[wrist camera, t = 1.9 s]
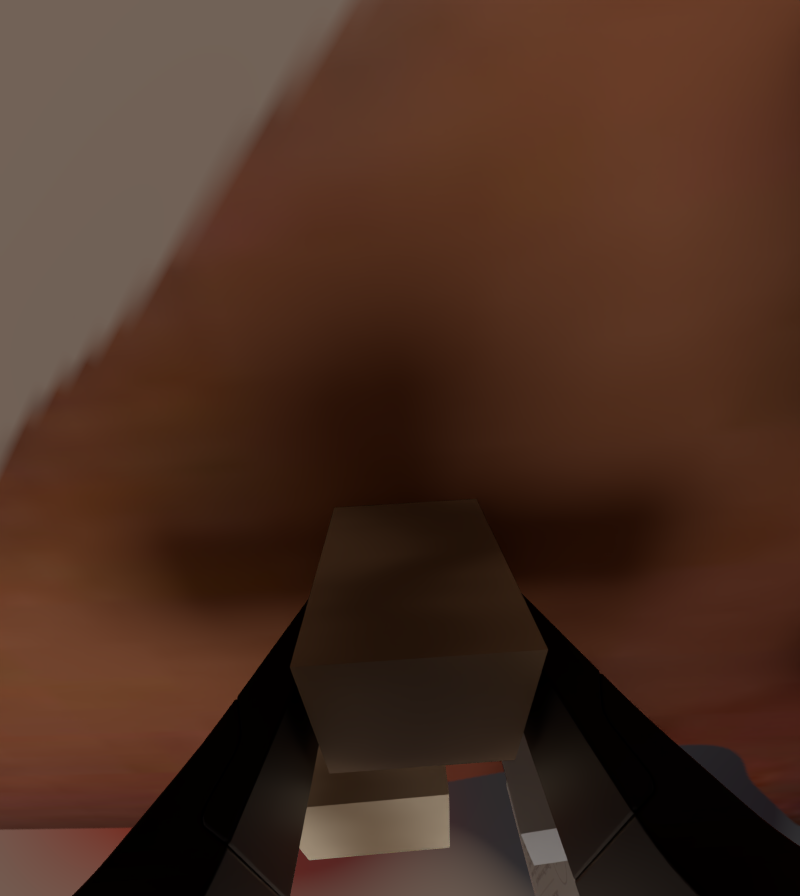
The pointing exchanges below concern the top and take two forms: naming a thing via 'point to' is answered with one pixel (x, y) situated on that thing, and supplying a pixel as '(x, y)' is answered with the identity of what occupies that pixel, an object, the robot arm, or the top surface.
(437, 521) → the walnut cube
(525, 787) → the grey cube
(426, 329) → the top surface
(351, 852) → the maple block
